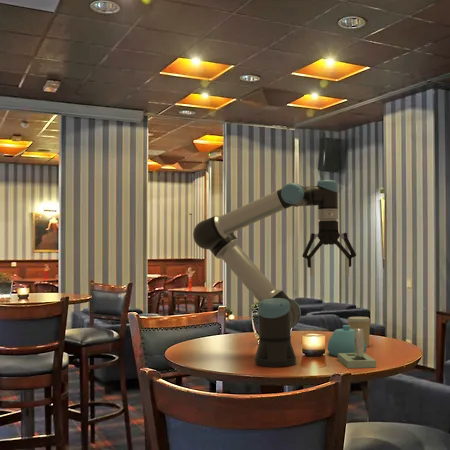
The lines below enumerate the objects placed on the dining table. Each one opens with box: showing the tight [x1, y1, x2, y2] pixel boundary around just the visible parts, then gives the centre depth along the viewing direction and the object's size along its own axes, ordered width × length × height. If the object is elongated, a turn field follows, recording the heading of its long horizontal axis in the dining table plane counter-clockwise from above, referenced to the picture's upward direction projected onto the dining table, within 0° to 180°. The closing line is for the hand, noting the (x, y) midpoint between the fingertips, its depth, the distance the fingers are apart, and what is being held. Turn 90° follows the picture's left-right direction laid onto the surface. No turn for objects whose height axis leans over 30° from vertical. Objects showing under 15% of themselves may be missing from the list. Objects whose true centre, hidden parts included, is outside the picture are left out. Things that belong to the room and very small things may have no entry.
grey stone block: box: [354, 329, 364, 360], centre depth 213 cm, size 3×3×13 cm
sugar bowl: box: [327, 324, 367, 358], centre depth 236 cm, size 15×15×12 cm
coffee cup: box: [347, 316, 371, 348], centre depth 255 cm, size 9×9×12 cm
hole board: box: [337, 352, 377, 369], centre depth 217 cm, size 10×16×2 cm, turn 2°
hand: (329, 276), depth 228 cm, fingers open, 13 cm apart
